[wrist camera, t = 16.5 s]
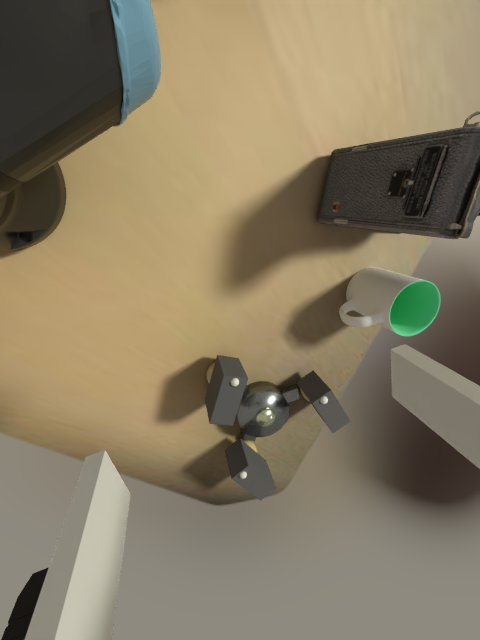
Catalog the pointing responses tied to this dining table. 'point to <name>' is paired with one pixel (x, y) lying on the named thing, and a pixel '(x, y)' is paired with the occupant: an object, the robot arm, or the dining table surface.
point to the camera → (407, 184)
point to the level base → (264, 409)
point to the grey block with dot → (224, 389)
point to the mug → (390, 301)
